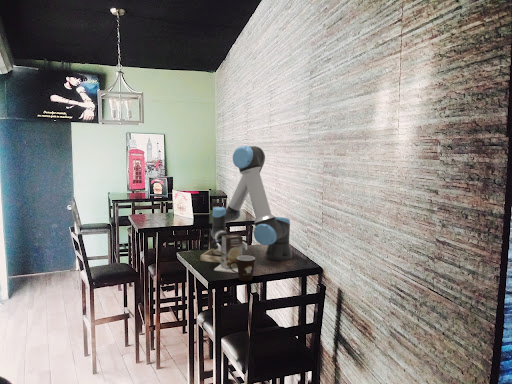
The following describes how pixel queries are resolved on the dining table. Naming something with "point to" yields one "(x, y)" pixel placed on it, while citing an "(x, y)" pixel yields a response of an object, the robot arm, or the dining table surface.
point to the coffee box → (231, 250)
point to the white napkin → (225, 269)
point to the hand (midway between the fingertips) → (233, 248)
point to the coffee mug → (245, 267)
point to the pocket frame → (209, 258)
